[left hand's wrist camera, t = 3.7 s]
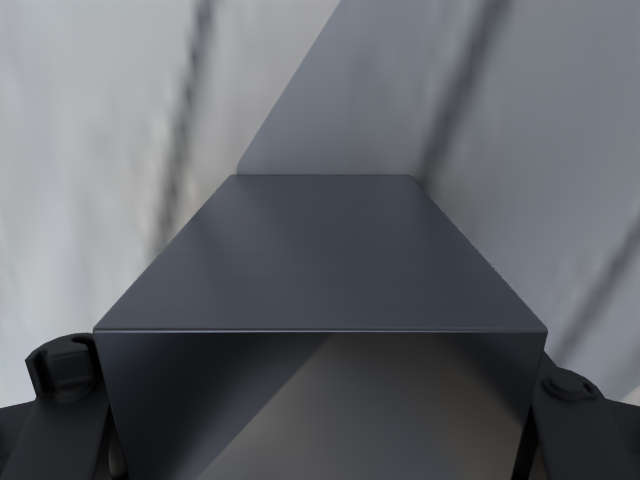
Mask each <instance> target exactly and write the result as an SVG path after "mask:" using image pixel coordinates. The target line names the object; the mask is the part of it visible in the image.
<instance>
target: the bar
mask: <svg viewBox="0 0 640 480" xmlns="http://www.w3.org/2000/svg"><path fill="white" fill-rule="evenodd" d="M547 334H548V330H547V327H546V326H545V325H544V324H543V323H542V322H541V321H540V319H539V318H538V317H537V316H536V315H535V314H534V313H533V312H532V311H531V309H530V308H529V307H528V306H527V305H526V304H525V303H524V302H523V301H522V299H521V298H520V297H519V296H518V295H517V294H516V293H515V292H514V291H513V289H512V288H511V287H510V286H509V285H508V284H507V283H506V282H505V280H504V279H503V278H502V277H501V276H500V275H499V274H498V273H497V272H496V270H495V269H494V268H493V267H492V266H491V265H490V264H489V263H488V262H487V260H486V259H485V258H484V257H483V256H482V255H481V254H480V253H479V251H478V250H477V249H476V248H475V247H474V246H473V245H472V244H471V243H470V241H469V240H468V239H467V238H466V237H465V236H464V235H463V234H462V233H461V231H460V230H459V229H458V228H457V227H456V226H455V225H454V224H453V223H452V221H451V220H450V219H449V218H448V217H447V216H446V215H445V214H444V212H443V211H442V210H441V209H440V208H439V207H438V206H437V205H436V204H435V202H434V201H433V200H432V199H431V198H430V197H429V196H428V195H427V194H426V192H425V191H424V190H423V189H422V188H421V187H420V186H419V185H418V183H417V182H416V181H415V180H414V179H413V178H412V177H411V176H410V175H230V176H229V177H228V178H227V179H226V180H225V182H224V183H223V184H222V185H221V186H220V187H219V188H218V189H217V190H216V192H215V193H214V194H213V195H212V196H211V197H210V198H209V199H208V200H207V202H206V203H205V204H204V205H203V206H202V207H201V208H200V209H199V211H198V212H197V213H196V214H195V215H194V216H193V217H192V218H191V219H190V221H189V222H188V223H187V224H186V225H185V226H184V227H183V228H182V229H181V231H180V232H179V233H178V234H177V235H176V236H175V237H174V238H173V240H172V241H171V242H170V243H169V244H168V245H167V246H166V247H165V248H164V250H163V251H162V252H161V253H160V254H159V255H158V256H157V257H156V258H155V260H154V261H153V262H152V263H151V264H150V265H149V266H148V267H147V269H146V270H145V271H144V272H143V273H142V274H141V275H140V276H139V277H138V279H137V280H136V281H135V282H134V283H133V284H132V285H131V286H130V287H129V289H128V290H127V291H126V292H125V293H124V294H123V295H122V296H121V298H120V299H119V300H118V301H117V302H116V303H115V304H114V305H113V306H112V308H111V309H110V310H109V311H108V312H107V313H106V314H105V315H104V316H103V318H102V319H101V320H100V321H99V322H98V323H97V324H96V325H95V327H94V328H93V336H94V340H95V344H96V348H97V352H98V356H99V361H100V365H101V369H102V373H103V377H104V381H105V385H106V389H107V393H108V398H109V402H110V406H111V410H112V414H113V418H114V422H115V426H116V430H117V435H118V439H119V443H120V447H121V451H122V455H123V459H124V463H125V467H126V472H127V476H128V480H512V477H513V473H514V469H515V465H516V461H517V457H518V452H519V448H520V444H521V440H522V436H523V432H524V428H525V424H526V420H527V416H528V412H529V407H530V403H531V399H532V395H533V391H534V387H535V383H536V379H537V375H538V371H539V367H540V363H541V358H542V354H543V350H544V346H545V342H546V338H547Z"/></svg>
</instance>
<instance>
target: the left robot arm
mask: <svg viewBox="0 0 640 480" xmlns="http://www.w3.org/2000/svg"><path fill="white" fill-rule="evenodd" d="M25 362H26V366H27V369H28V372H29V375H30V378H31V381H32V384H33V387H34V390H35V393H36V396H37V397H36V399H35V400H34V401H31V402H27V403H22V404H18V405H13V406H8V407H4V408H0V480H128V476H127V472H126V467H125V463H124V459H123V455H122V451H121V447H120V443H119V439H118V435H117V430H116V426H115V422H114V418H113V414H112V410H111V406H110V402H109V398H108V393H107V389H106V385H105V381H104V377H103V373H102V369H101V365H100V361H99V356H98V352H97V348H96V344H95V340H94V336H93V334H92V333H75V334H70V335H66V336H62V337H59V338H56V339H54V340H52V341H49V342H47V343H45V344H43V345H41V346H40V347H38V348H37V349H35V350H34V351H32V353H31V354H30V355H29V356H28V357H27V358H26V360H25ZM512 480H640V406H636V405H631V404H626V403H622V402H617V401H613V400H609V399H605V398H604V396H603V394H602V393H601V392H600V390H599V389H598V388H597V386H595V385H594V384H593V383H592V382H590V381H589V380H588V379H586V378H585V377H583V376H581V375H579V374H577V373H575V372H573V371H570V370H566V369H563V368H559V367H557V366H556V365H555V364H554V362H553V361H552V360H551V359H550V358H549V356H548V355H547V354H546V353H545V351H544V350H543V354H542V358H541V363H540V367H539V371H538V375H537V379H536V383H535V387H534V391H533V395H532V399H531V403H530V407H529V412H528V416H527V420H526V424H525V428H524V432H523V436H522V440H521V444H520V448H519V452H518V457H517V461H516V465H515V469H514V473H513V477H512Z"/></svg>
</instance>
